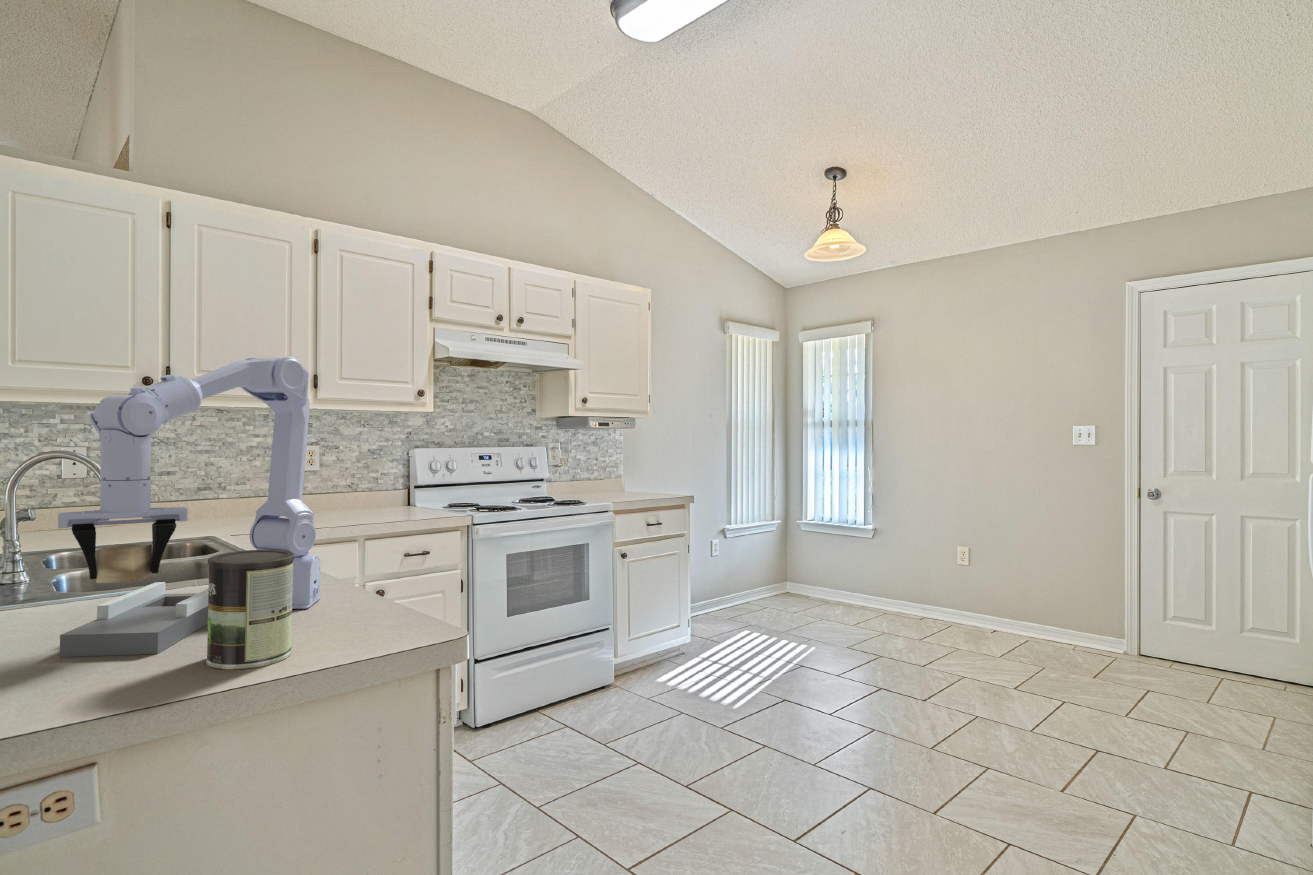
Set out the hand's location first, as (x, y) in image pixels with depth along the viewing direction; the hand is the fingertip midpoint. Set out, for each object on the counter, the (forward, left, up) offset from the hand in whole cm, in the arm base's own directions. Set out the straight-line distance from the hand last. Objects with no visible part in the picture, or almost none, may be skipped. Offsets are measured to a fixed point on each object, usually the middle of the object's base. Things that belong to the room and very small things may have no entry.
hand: (124, 575), depth 98 cm
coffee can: (-19, +6, -11) cm, 23 cm away
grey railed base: (0, -9, -10) cm, 14 cm away
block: (0, 0, -1) cm, 1 cm away
